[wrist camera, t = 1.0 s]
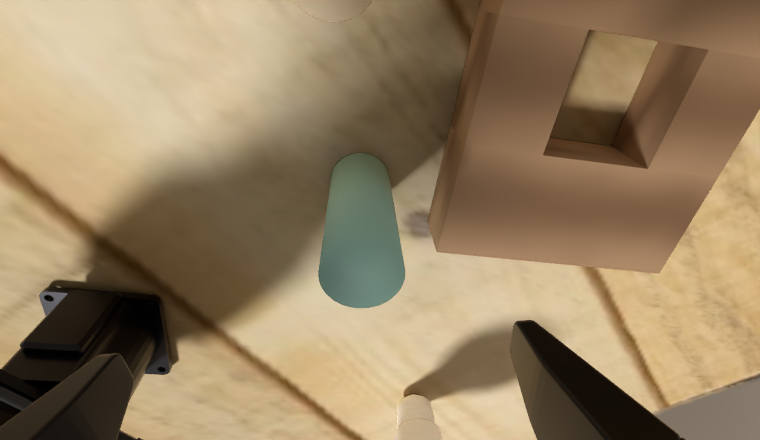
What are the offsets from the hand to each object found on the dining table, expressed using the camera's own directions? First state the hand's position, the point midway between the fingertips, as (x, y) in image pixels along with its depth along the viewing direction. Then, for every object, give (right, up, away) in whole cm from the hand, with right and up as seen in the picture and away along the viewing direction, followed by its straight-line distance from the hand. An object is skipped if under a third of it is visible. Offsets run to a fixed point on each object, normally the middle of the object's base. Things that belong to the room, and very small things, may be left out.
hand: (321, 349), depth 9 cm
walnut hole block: (+11, +9, +10) cm, 17 cm away
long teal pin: (0, +5, +12) cm, 13 cm away
